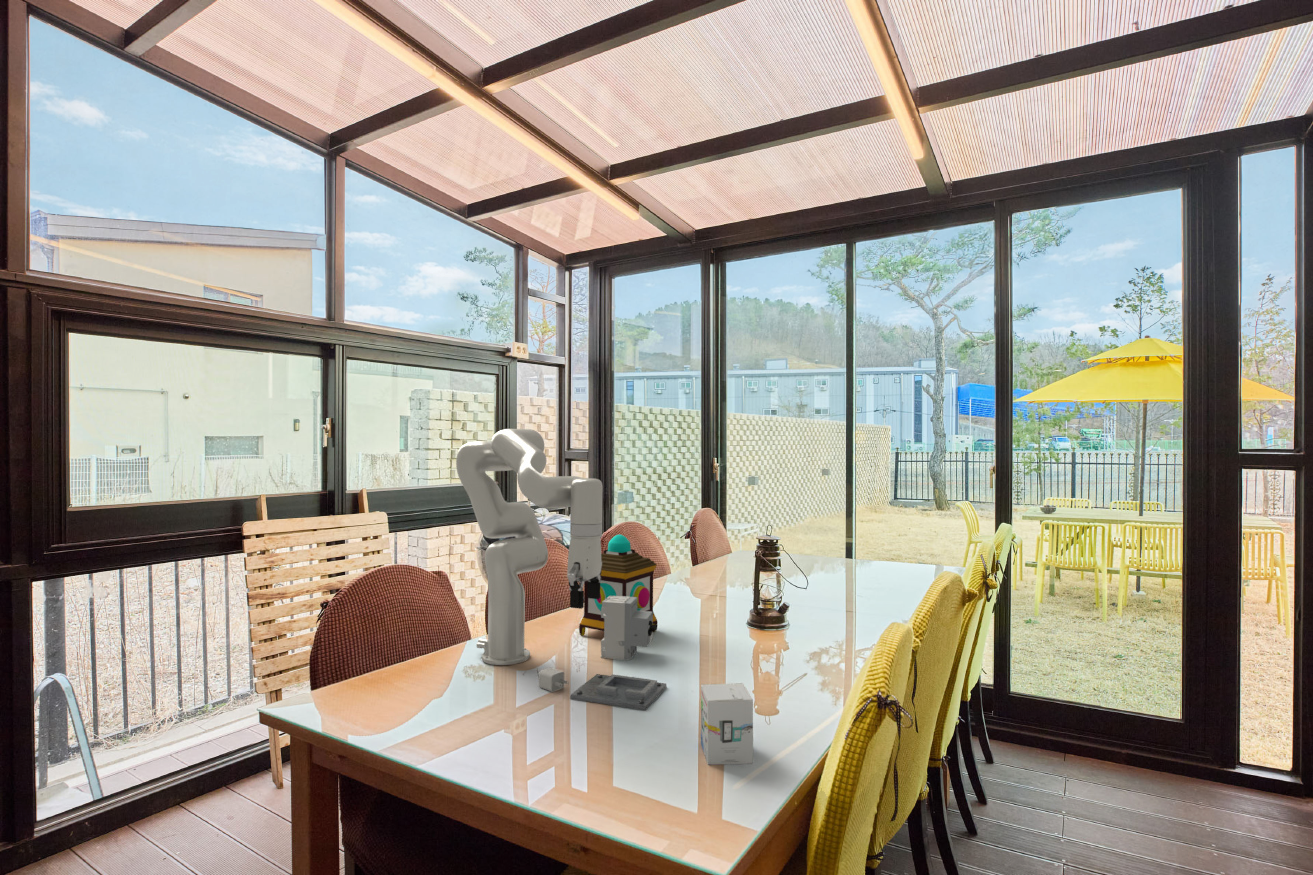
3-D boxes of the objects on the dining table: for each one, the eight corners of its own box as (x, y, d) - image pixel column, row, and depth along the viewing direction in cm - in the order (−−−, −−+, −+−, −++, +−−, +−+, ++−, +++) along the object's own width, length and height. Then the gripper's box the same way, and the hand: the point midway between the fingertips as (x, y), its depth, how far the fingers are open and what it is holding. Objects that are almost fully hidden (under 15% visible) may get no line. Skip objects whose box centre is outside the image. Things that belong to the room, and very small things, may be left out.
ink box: (699, 743, 126) (700, 682, 126) (743, 742, 126) (743, 681, 126) (707, 765, 117) (707, 700, 117) (753, 763, 118) (754, 698, 118)
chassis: (570, 698, 147) (570, 687, 147) (596, 677, 160) (597, 667, 160) (645, 710, 141) (645, 698, 141) (666, 687, 154) (666, 677, 154)
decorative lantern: (664, 630, 202) (664, 533, 202) (627, 647, 185) (627, 541, 185) (611, 621, 212) (612, 528, 213) (572, 635, 196) (572, 535, 196)
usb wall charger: (551, 683, 157) (551, 666, 157) (571, 690, 152) (571, 673, 152) (538, 688, 154) (539, 671, 154) (558, 695, 149) (559, 677, 149)
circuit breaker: (652, 661, 173) (653, 604, 173) (600, 657, 176) (601, 601, 176) (658, 652, 180) (658, 598, 180) (608, 649, 183) (608, 595, 183)
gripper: (586, 525, 164) (585, 593, 164) (555, 534, 148) (554, 610, 148) (614, 527, 162) (613, 596, 162) (585, 536, 146) (585, 613, 146)
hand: (585, 602), depth 155 cm, fingers open, 9 cm apart
